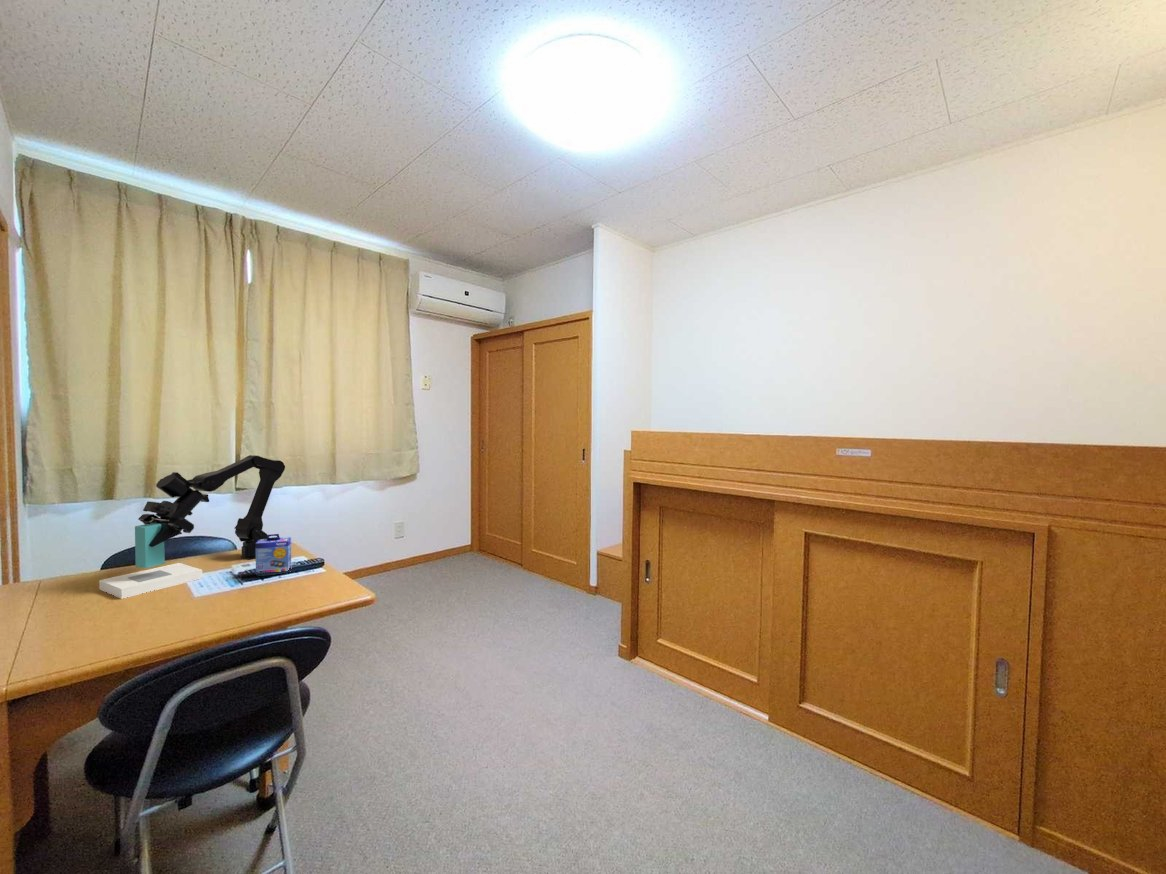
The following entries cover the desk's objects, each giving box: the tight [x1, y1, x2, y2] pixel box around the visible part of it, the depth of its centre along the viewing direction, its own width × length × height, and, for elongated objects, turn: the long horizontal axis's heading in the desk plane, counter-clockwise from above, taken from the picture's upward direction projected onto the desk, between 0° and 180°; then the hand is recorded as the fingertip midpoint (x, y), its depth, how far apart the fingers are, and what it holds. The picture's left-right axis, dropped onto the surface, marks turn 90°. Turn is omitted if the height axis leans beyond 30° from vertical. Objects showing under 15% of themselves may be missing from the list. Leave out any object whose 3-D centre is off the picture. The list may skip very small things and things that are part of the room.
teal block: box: [134, 523, 166, 569], centre depth 144 cm, size 5×5×13 cm
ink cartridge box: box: [255, 533, 292, 573], centre depth 156 cm, size 10×6×14 cm, turn 115°
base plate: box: [98, 562, 203, 600], centre depth 146 cm, size 20×16×3 cm
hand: (144, 545), depth 143 cm, fingers closed on teal block, 5 cm apart
